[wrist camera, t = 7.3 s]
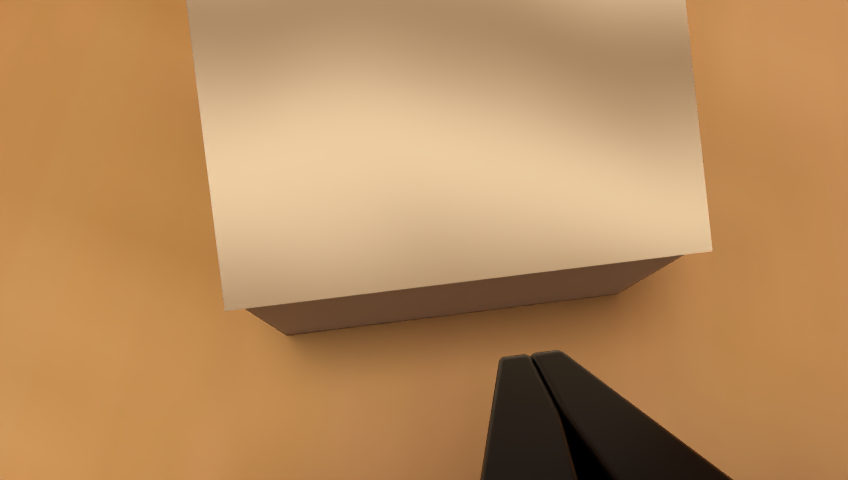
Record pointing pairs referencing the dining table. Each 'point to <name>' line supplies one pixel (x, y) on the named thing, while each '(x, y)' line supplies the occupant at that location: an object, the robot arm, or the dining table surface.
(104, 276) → the dining table surface
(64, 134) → the dining table surface
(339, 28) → the lid
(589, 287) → the box
